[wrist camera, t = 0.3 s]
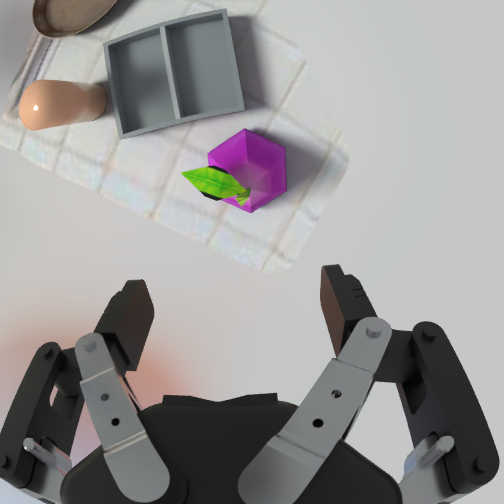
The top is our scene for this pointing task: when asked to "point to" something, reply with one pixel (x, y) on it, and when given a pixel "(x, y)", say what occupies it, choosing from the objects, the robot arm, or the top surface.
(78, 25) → the object
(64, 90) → the peach pillar candle
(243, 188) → the pear
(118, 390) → the robot arm
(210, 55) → the divided storage tray
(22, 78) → the top surface
